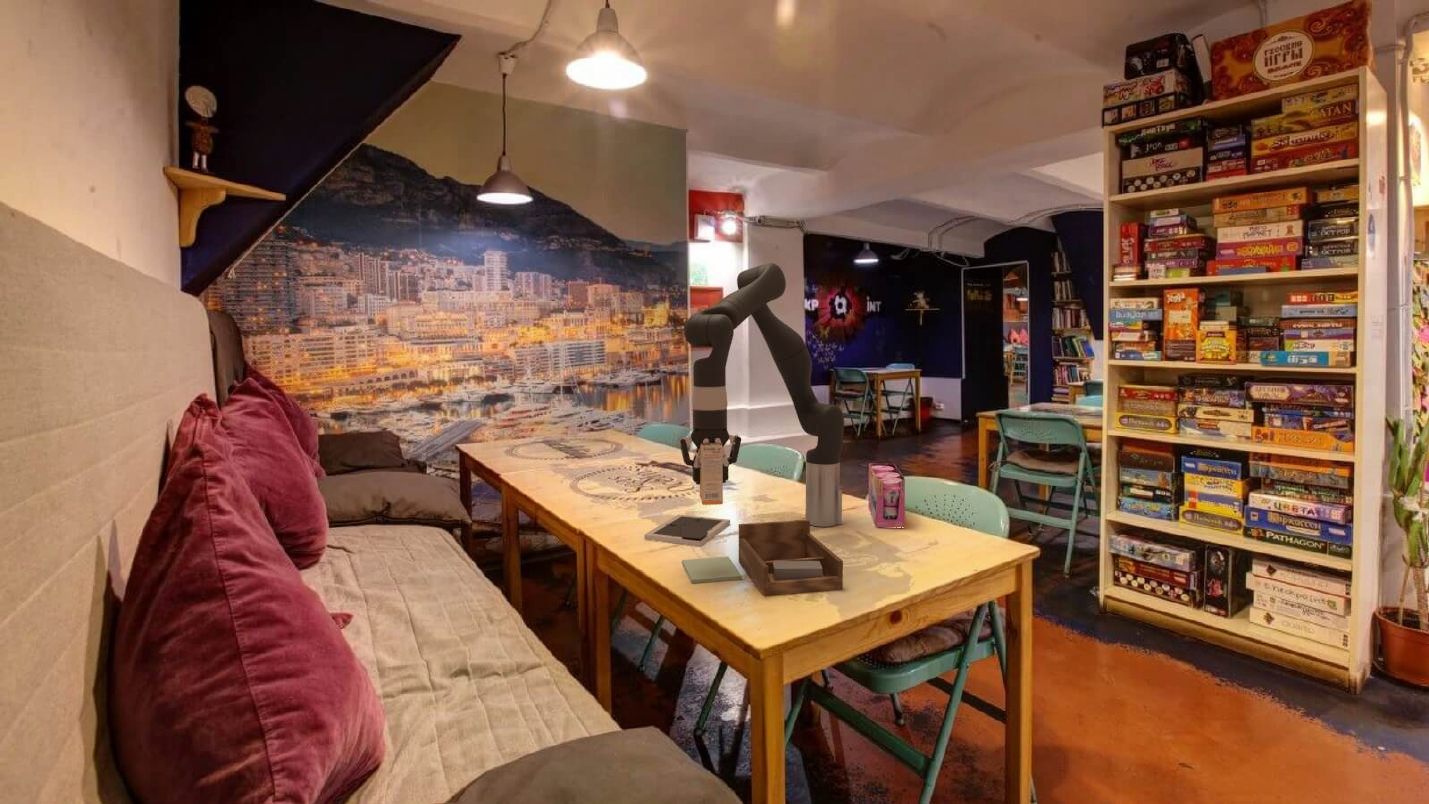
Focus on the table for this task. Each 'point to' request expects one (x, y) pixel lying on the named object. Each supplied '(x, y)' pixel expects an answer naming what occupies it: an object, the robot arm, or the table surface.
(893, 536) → the table surface
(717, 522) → the picture frame
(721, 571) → the pad
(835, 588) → the rack
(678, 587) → the table surface
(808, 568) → the upper offcut
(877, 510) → the gum box
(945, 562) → the table surface
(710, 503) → the supplement box
